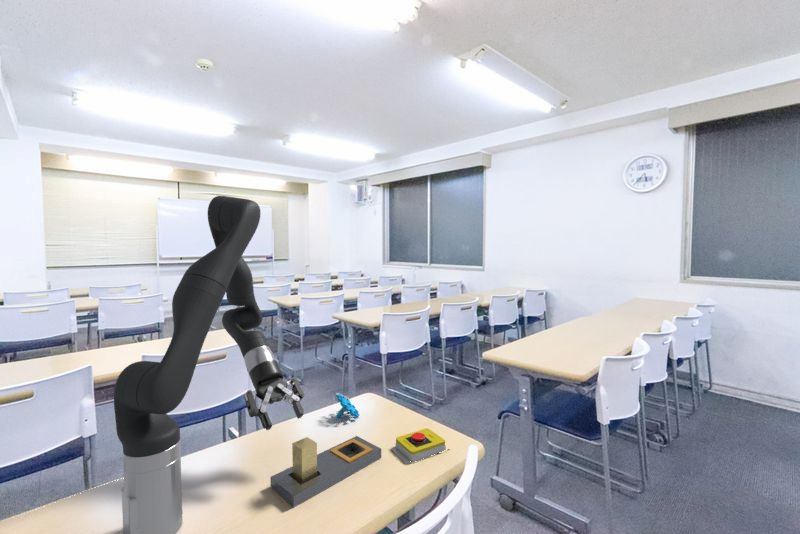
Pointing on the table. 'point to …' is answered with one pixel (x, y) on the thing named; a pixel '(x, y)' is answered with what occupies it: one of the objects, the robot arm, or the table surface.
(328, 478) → the peg board
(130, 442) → the robot arm
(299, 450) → the brass peg
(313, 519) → the table surface
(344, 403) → the gear
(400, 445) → the emergency button
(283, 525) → the table surface
